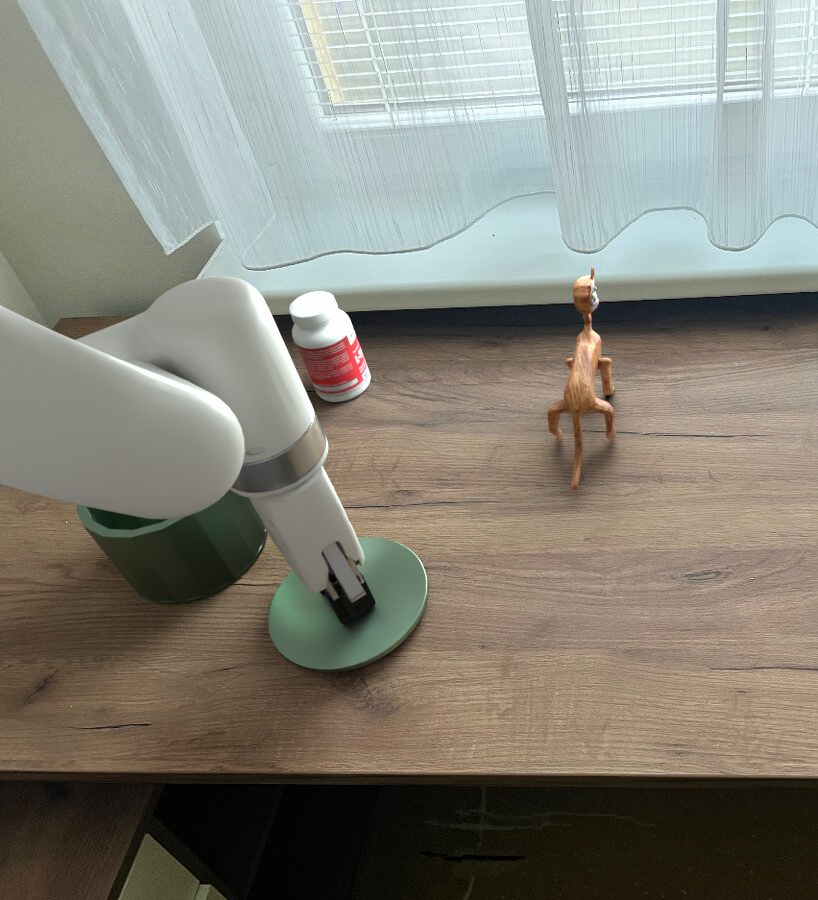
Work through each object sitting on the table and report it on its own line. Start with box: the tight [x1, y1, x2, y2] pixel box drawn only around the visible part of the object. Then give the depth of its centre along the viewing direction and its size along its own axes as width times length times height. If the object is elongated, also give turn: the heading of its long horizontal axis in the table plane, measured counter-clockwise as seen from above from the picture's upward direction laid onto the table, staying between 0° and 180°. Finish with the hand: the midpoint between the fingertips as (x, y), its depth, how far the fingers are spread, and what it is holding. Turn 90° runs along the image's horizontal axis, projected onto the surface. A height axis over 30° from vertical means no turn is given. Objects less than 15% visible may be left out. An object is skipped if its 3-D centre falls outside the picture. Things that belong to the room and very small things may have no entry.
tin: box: [75, 489, 268, 606], centre depth 78 cm, size 13×13×10 cm
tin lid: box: [267, 536, 430, 674], centre depth 73 cm, size 14×14×6 cm
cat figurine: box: [546, 266, 617, 491], centre depth 83 cm, size 18×7×14 cm, turn 173°
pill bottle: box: [288, 290, 371, 403], centre depth 93 cm, size 6×6×11 cm
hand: (347, 597), depth 74 cm, fingers open, 3 cm apart
